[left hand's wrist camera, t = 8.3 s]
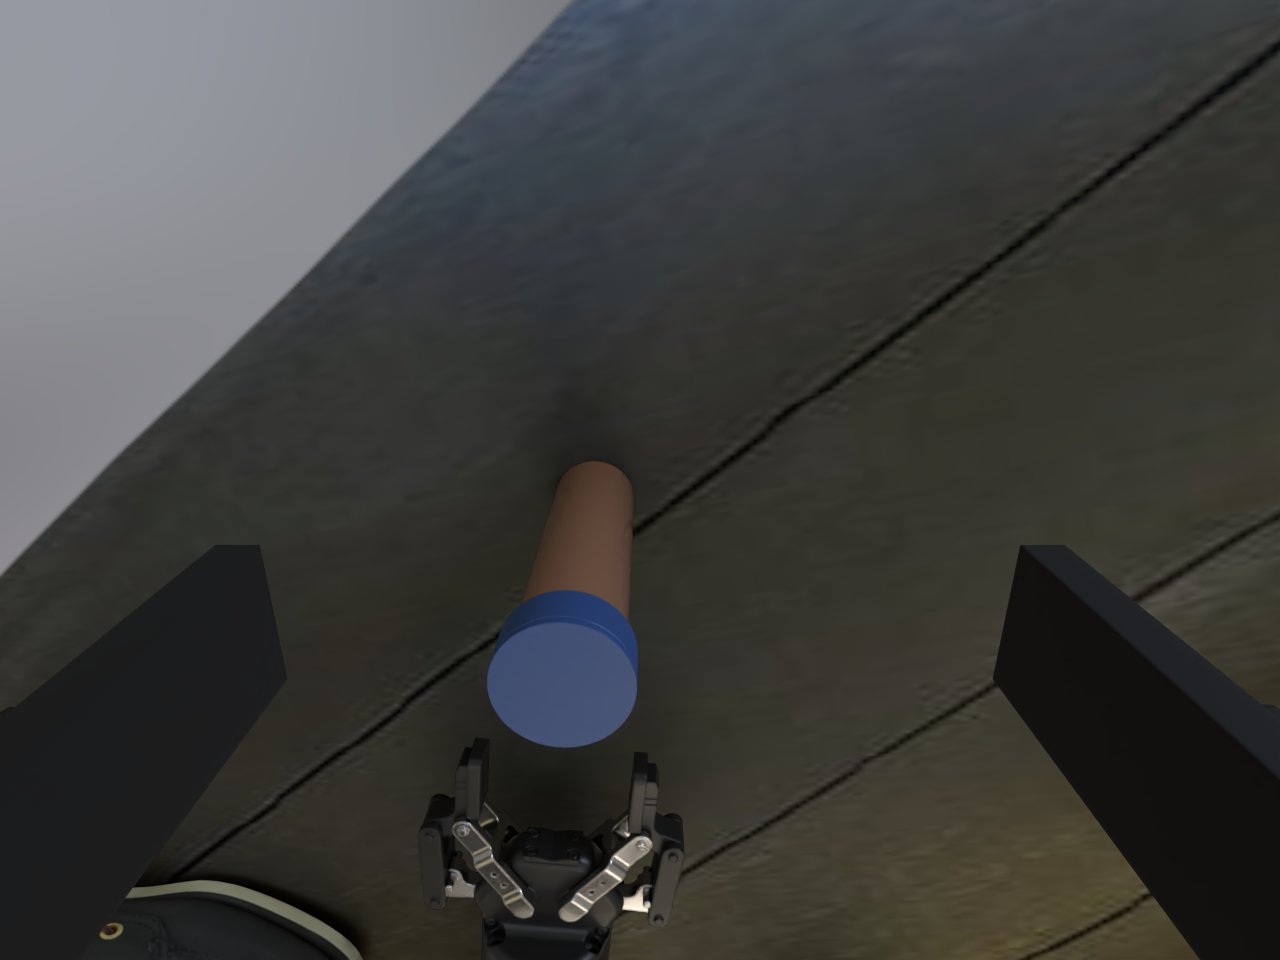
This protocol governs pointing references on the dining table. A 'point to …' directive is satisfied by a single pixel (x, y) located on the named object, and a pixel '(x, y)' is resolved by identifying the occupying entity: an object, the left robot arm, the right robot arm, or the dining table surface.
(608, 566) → the jar
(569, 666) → the lid
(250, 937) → the boat shoe
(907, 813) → the dining table surface
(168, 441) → the dining table surface
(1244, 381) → the dining table surface
